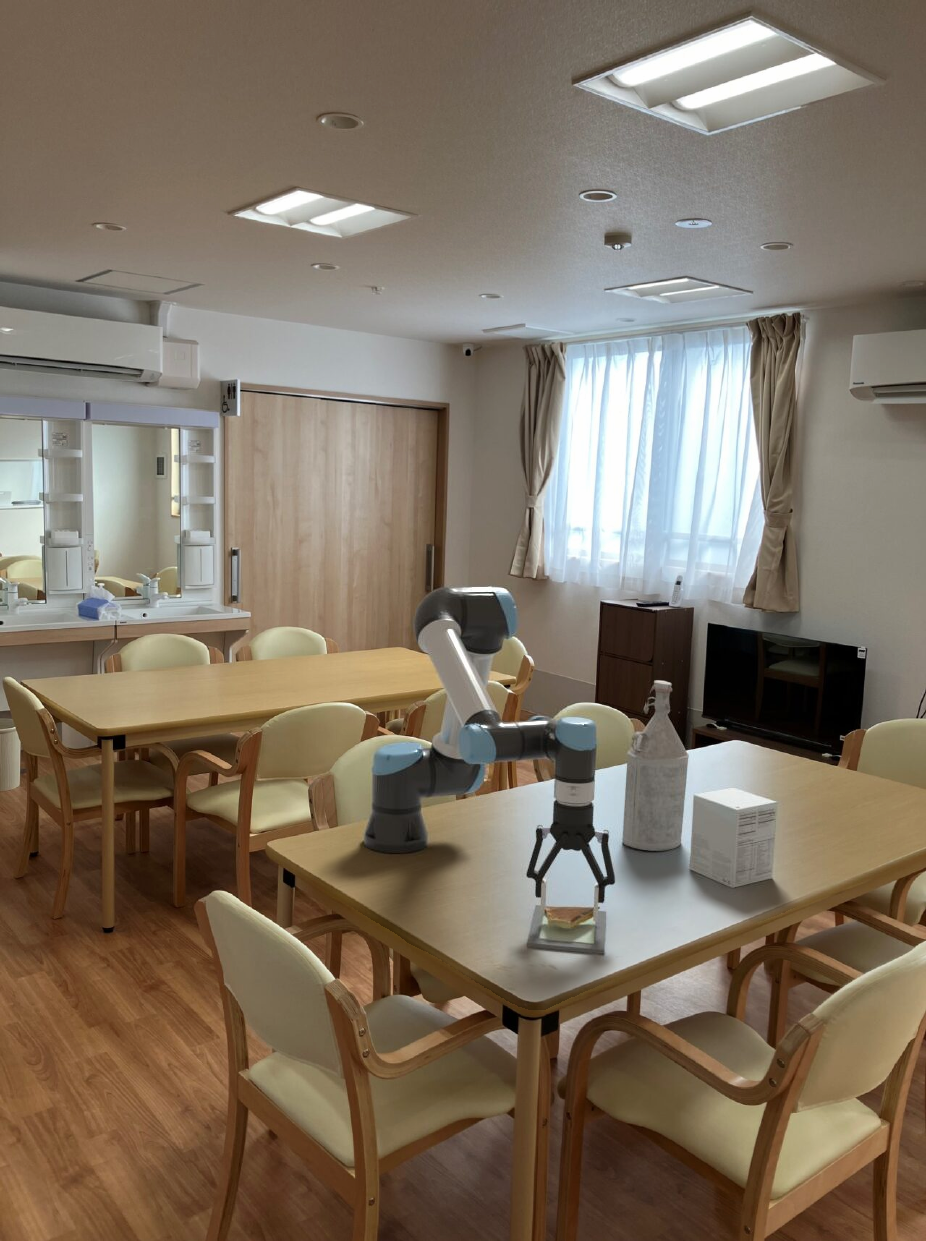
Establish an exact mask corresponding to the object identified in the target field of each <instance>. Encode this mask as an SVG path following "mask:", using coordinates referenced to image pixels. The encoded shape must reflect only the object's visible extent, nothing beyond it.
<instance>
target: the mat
mask: <svg viewBox="0 0 926 1241" xmlns="http://www.w3.org/2000/svg"><path fill="white" fill-rule="evenodd" d="M547 907H553V906H550V905H546V906H545V908H547ZM540 910H541V904H540V905H539V904H537V905H535V908H534V910H533V911H534V913H533V916H532V921H531V924H530V925H531V926H530V928H529V933H528V939H527V942H526V947H527V948H536V949H546V950H554V951H555V950H557V951H566V952H577V953H587V954H597V955H605V949H606V948H605V947H606V945H605V944H606V929H607V928H606V926H607V911H606V910H605V911H604V910H598V917H597V921H593V917H592V918H591V919H589V920H587V921H585V922H583V923H580V924H578V925H577V926H574V927H573V928H572V929H570V928H561V927H558V926H556V925H552V926H548V920H547V918H546V917H545V915H544V916H540Z"/></svg>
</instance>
